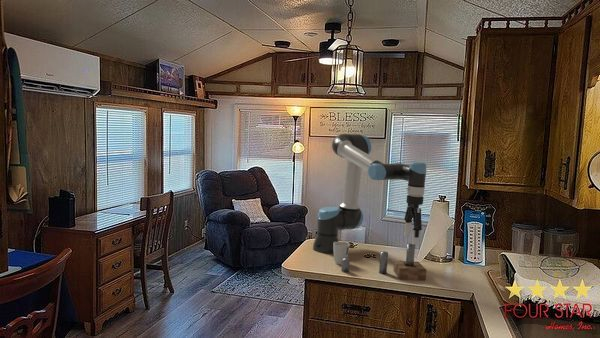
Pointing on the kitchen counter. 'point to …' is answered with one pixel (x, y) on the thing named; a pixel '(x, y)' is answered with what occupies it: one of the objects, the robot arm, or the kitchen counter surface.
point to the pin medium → (383, 262)
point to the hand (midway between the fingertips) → (411, 239)
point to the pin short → (345, 264)
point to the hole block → (409, 271)
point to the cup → (340, 251)
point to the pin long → (410, 255)
